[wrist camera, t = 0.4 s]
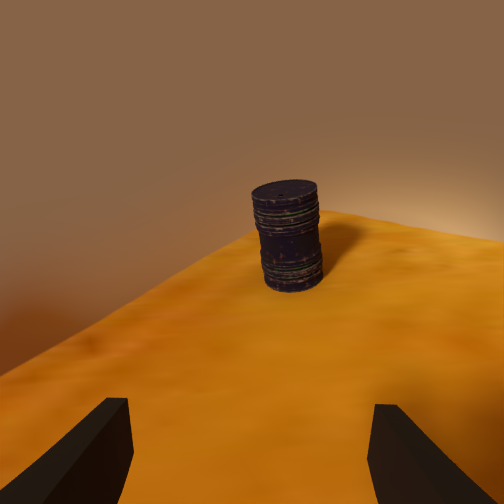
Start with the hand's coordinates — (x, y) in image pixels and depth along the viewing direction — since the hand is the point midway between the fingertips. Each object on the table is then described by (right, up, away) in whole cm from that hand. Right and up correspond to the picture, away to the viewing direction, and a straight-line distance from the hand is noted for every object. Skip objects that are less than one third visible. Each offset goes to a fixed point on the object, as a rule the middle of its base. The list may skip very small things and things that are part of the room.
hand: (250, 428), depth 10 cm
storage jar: (+7, +1, +47) cm, 47 cm away
